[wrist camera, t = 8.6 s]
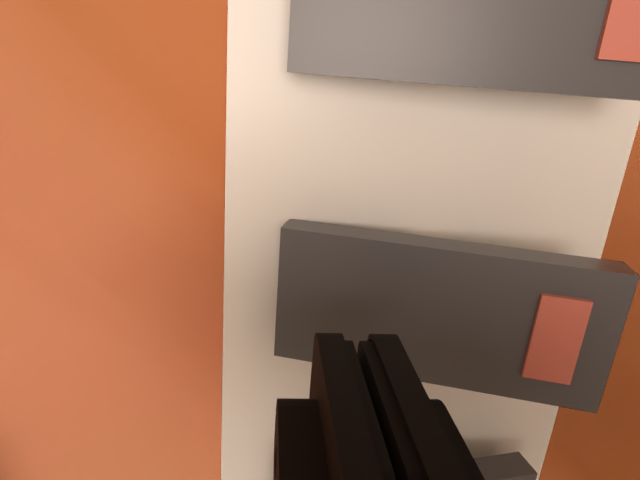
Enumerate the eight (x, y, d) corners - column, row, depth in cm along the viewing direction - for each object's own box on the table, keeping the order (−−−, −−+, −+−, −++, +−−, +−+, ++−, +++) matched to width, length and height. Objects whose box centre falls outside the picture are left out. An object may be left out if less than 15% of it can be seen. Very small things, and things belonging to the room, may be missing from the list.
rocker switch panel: (657, -224, 14) (798, -331, 10) (473, 543, 23) (512, 630, 20) (240, -299, 12) (231, -457, 9) (224, 555, 22) (216, 652, 18)
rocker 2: (622, 261, 12) (642, 278, 11) (584, 391, 14) (598, 416, 13) (289, 218, 14) (279, 228, 13) (282, 339, 15) (272, 357, 14)
